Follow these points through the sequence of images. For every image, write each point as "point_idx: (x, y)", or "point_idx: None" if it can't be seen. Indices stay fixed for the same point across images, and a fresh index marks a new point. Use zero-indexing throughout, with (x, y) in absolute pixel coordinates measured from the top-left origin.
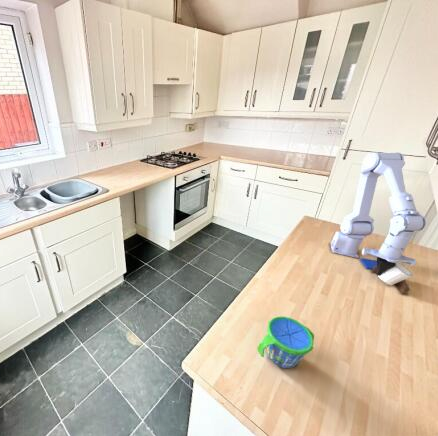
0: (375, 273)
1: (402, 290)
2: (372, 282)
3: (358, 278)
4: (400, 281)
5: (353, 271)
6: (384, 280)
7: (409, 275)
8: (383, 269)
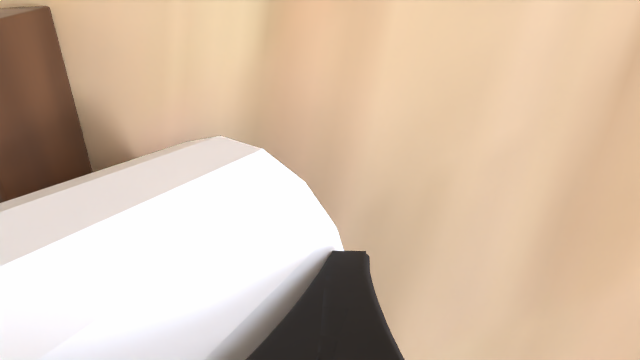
0: None
1: (24, 42)
2: (411, 118)
3: (619, 128)
4: None
5: (633, 290)
6: (262, 165)
7: None
8: (314, 356)
